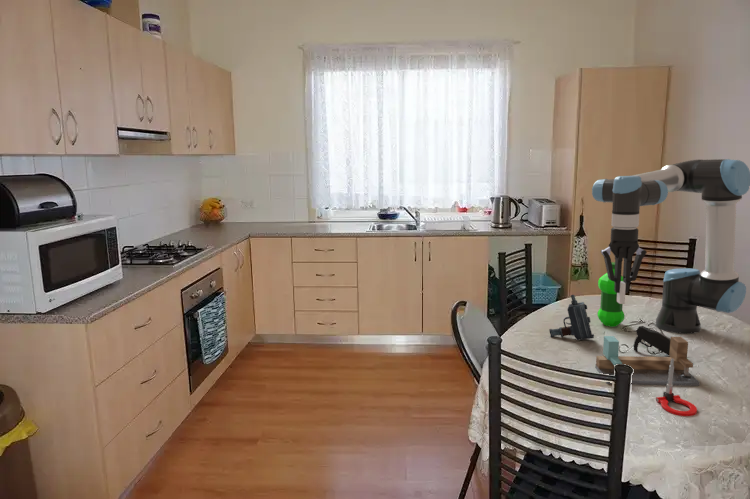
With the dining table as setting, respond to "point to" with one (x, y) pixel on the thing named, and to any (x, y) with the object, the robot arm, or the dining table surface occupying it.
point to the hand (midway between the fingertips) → (620, 302)
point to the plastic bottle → (609, 302)
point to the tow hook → (674, 397)
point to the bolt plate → (656, 377)
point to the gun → (575, 322)
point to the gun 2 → (652, 339)
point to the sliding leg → (611, 349)
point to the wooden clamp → (655, 359)
